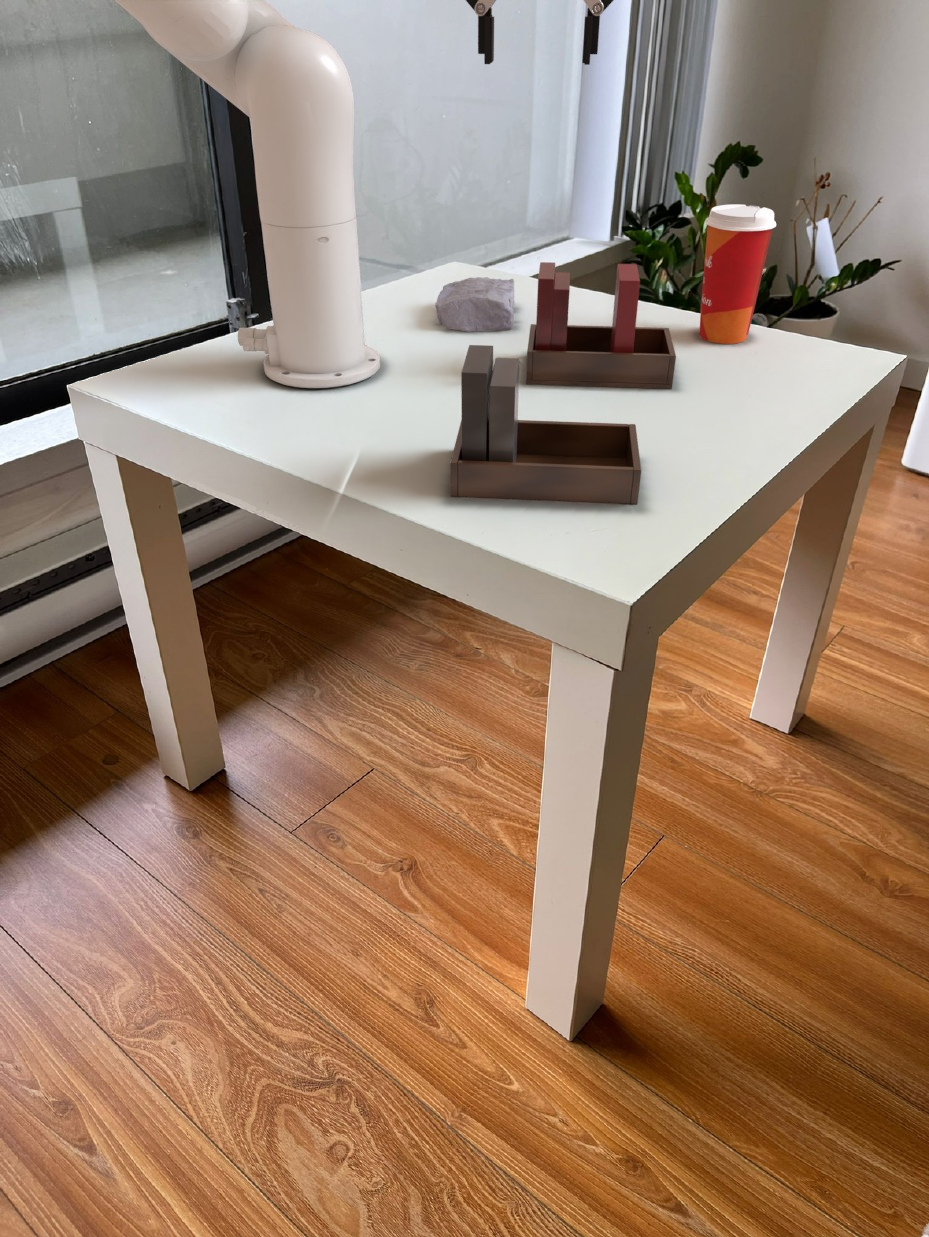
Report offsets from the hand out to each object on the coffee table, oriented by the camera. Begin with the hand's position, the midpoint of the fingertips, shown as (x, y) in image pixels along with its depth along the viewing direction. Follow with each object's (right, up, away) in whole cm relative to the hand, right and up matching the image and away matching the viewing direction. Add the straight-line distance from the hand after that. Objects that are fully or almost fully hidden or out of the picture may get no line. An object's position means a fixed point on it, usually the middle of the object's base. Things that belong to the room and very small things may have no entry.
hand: (537, 63), depth 93 cm
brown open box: (+7, -28, +9) cm, 30 cm away
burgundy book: (+10, -28, +9) cm, 31 cm away
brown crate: (0, -43, -13) cm, 45 cm away
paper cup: (+23, -22, +18) cm, 37 cm away
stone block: (-6, -17, +25) cm, 31 cm away
